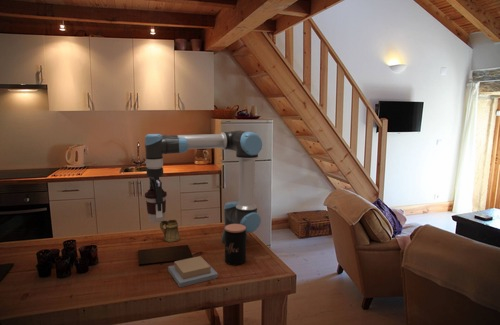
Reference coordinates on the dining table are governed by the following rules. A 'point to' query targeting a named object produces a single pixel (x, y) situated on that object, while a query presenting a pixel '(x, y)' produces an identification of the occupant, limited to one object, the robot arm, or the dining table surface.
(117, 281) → the dining table surface
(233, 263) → the coffee jar
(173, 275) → the base
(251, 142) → the robot arm
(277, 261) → the dining table surface
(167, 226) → the brass coffee pot
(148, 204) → the coffee cup
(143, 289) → the dining table surface
